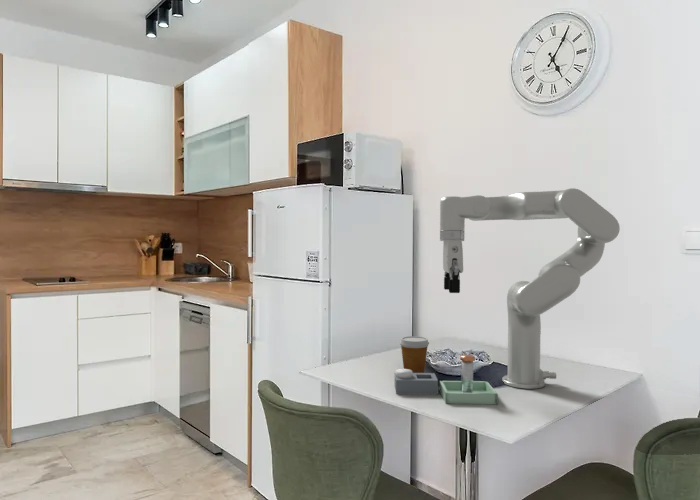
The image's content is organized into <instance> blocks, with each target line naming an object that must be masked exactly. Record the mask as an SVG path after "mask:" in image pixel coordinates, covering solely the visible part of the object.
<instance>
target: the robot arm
mask: <svg viewBox="0 0 700 500" xmlns="http://www.w3.org/2000/svg"><path fill="white" fill-rule="evenodd" d="M439 202H440V203H439V217H440V218H439V241H440V242H443V243H442V244H443V246H442V250H443V251H442V265H443V266H442V268H443V271H444V274H443V275H444V277H443V290H447V291H448V292H449V294H459V293H461V280H460V274H462V273H463V272H464V254H463V253H464V252H463V242H465V229H466V228H465V225H466V224H465V219H466V220H467V219H468V220H471V221H474V222H475V221H477V222H478V221H481V222H482V221H501V220H503V221H504V220H506V221H507V220H513V221H527V220H528V221H530V220H531V221H532V220H553V219H554V220H555V219H557V220H559V219H569V220H570V221H572V223H574V224H575V225H576V226H577V239H576V241H575V243H574V244H573V246H572V247H570V248H569V249H567V250H566V251H565V252H564V253H562V254H560V255H558V257H556V258H554V259H553V260H551V261H550V262H548V263H546V264H545V265H543V266H542V267H541V269H539V272H538V274H537V275H538V276H537V277H535V278H534V279H533V280H531V281H527V280H519V281H516V282H515V283H513V284H512V285H511V286H510V287H509V289H508V292H507V295H506V306H507V307H506V308H507V374H505V375H504V376H503V377H502V378H501V379H502V381H503V382H504V383H503V382H502V383H503V384H505V385H506V386H509V387H512V388H516V389H527V390H534V389H535V390H536V389H541V388H544V387H545V386H546V379H550V380H551V379H552V380H553V379H554V380H556V379H557V373H556V372H555V371H552V372H550V371H548V370H543V369H541V334H542V333H541V332H542V331H541V330H542V327H541V324H542V323H541V315H543V314H544V313H546V312H548V311H549V310H551V309H552V308H553V307H555V306H557V305H558V304H560V303H562V302H563V301H565V299H567V298H569V297H570V296H572V295H573V294H574V293H576V291H577V289H578V288H579V287H580V283H581V277H583V276H584V275H585V274H586V273H588V272H589V271H591V270H592V269H594V267H595V266H597V264H598V263H599V262H600V261H601V259H602V257H603V254H604V250H605V246H606V245H605V244H607V243H611V242H613V241H614V240H615V239H616V238H617V237H618V235H619V233H620V228H621V227H620V224H619V221H618V220H617V218H616V217H615V216H614V215H613V214H612V213H611V212H610V211H608V210H607V209H606V208H604V207H603V206H602V205H601V204H599V202H597V201H596V200H594V199H593V198H592V197H591V196H590V195H588V194H587V193H585V192H584V191H582V190H580V189H578V188H575V187H573V188H571V187H570V188H567V189H564V190H563V189H562V190H549V191H548V190H547V191H545V190H544V191H523V192H522V191H521V192H517V193H514V194H509V195H502V196H489V197H488V196H487V197H486V196H485V195H471V196H457V195H455V196H444V197H442V198H441V199H440V201H439Z"/></svg>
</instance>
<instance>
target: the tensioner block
mask: <svg viewBox="0 0 700 500" xmlns="http://www.w3.org/2000/svg"><path fill="white" fill-rule="evenodd" d="M394 389H395V394H396V395H438V394H439V379H438V377H437V376H436V374H435V372H424V373H412V370H409V369H404V368H397V369H395V371H394Z"/></svg>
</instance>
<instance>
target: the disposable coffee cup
mask: <svg viewBox="0 0 700 500" xmlns="http://www.w3.org/2000/svg"><path fill="white" fill-rule="evenodd" d="M399 344H400V347H401V349H400V350H401V356H402V364H403V369H409V370H412V373H425V368H426V361H427V360H426V359H427V352H428V347H429V344H430V343H429V339H428V338H427V337H425V336H419V335H417V336H416V335H413V336H412V335H410V336H403V337H401V339H400V341H399Z"/></svg>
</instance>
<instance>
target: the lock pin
mask: <svg viewBox="0 0 700 500" xmlns="http://www.w3.org/2000/svg"><path fill="white" fill-rule="evenodd" d="M475 357H476V356H475V355H474V354H461V355H460V356H459V360H461V380H460V381H461V393H473V381H474V362H475V360H476V358H475Z"/></svg>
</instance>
